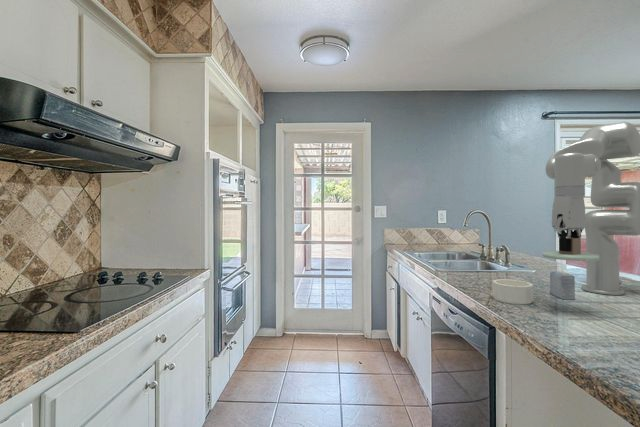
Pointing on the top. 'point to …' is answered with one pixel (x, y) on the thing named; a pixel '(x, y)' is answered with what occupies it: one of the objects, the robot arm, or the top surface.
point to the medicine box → (562, 285)
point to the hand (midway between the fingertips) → (569, 250)
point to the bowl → (513, 291)
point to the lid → (572, 253)
